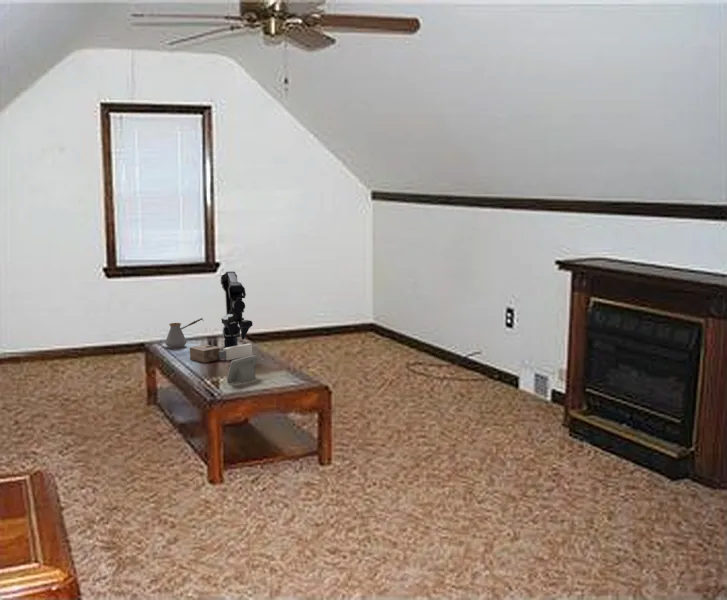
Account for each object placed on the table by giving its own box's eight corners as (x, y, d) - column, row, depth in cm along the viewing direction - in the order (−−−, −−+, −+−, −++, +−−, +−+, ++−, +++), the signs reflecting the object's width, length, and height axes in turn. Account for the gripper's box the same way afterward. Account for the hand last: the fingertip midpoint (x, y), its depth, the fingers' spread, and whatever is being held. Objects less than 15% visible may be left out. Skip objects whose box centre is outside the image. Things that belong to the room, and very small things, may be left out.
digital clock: (251, 375, 373) (251, 353, 372) (263, 378, 367) (262, 356, 365) (222, 381, 362) (221, 358, 361) (233, 385, 356) (232, 361, 354)
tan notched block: (206, 355, 413) (206, 344, 412) (220, 359, 405) (219, 347, 404) (190, 358, 406) (189, 347, 405) (204, 362, 398) (203, 350, 397)
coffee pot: (167, 349, 427) (166, 322, 425) (163, 345, 438) (162, 319, 435) (206, 346, 436) (205, 319, 433) (202, 342, 446) (201, 316, 444)
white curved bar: (248, 354, 417) (248, 343, 416) (252, 355, 415) (251, 344, 414) (218, 360, 403) (217, 349, 402) (221, 361, 401) (221, 350, 400)
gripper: (212, 308, 406) (213, 338, 409) (235, 312, 394) (236, 343, 396) (230, 305, 414) (231, 335, 417) (252, 309, 402) (253, 340, 404)
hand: (237, 338), depth 408 cm, fingers open, 9 cm apart
